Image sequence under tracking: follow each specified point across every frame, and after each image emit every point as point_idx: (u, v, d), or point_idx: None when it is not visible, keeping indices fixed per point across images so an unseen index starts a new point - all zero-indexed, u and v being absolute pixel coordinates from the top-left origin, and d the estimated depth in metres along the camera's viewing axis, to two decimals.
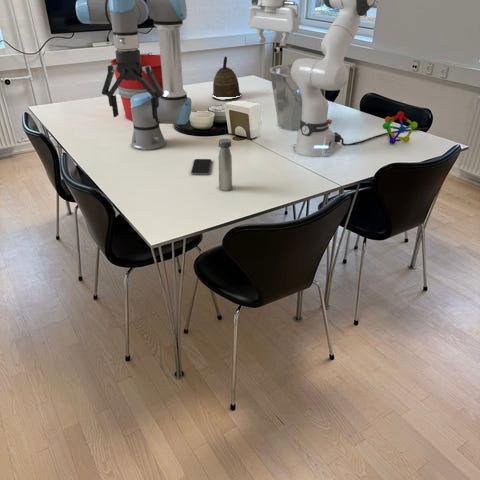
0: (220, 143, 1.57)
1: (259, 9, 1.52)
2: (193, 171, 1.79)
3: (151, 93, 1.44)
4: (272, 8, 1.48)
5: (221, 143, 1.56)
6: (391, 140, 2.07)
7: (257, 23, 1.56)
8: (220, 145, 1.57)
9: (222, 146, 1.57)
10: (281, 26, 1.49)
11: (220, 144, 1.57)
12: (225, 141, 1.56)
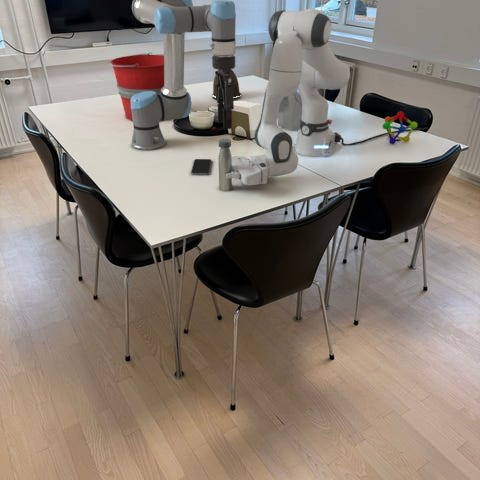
0: (220, 143, 1.57)
1: None
2: (193, 171, 1.79)
3: (224, 104, 1.47)
4: None
5: (221, 143, 1.56)
6: (391, 140, 2.07)
7: None
8: (220, 145, 1.57)
9: (222, 146, 1.57)
10: None
11: (220, 144, 1.57)
12: (225, 141, 1.56)
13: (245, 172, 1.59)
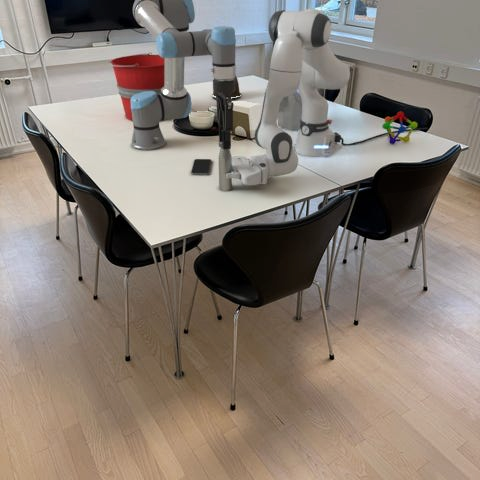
0: (220, 143, 1.57)
1: None
2: (193, 171, 1.79)
3: (223, 125, 1.51)
4: None
5: (221, 143, 1.56)
6: (391, 140, 2.07)
7: None
8: (220, 145, 1.57)
9: (222, 146, 1.57)
10: None
11: (220, 144, 1.57)
12: None
13: (245, 172, 1.59)
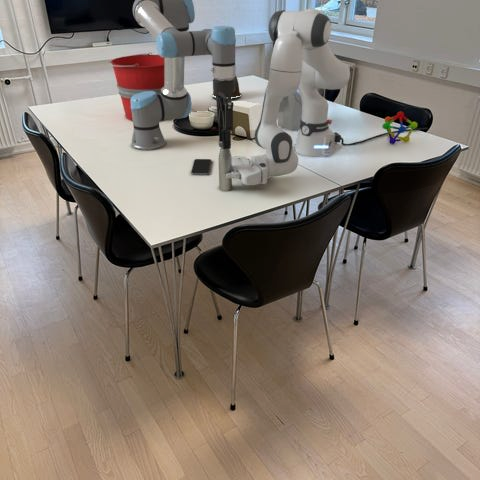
0: None
1: None
2: (193, 171, 1.79)
3: (223, 125, 1.51)
4: None
5: None
6: (391, 140, 2.07)
7: None
8: None
9: None
10: None
11: None
12: None
13: (245, 172, 1.59)
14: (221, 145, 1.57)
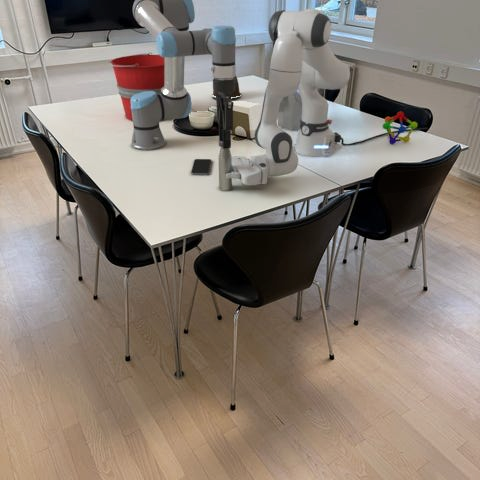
0: None
1: None
2: (193, 171, 1.79)
3: (223, 125, 1.51)
4: None
5: None
6: (391, 140, 2.07)
7: None
8: None
9: None
10: None
11: None
12: (221, 139, 1.57)
13: (245, 172, 1.59)
14: None
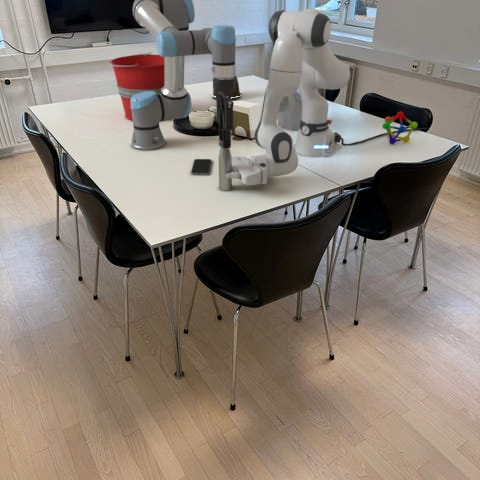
0: (221, 142, 1.56)
1: None
2: (193, 171, 1.79)
3: (223, 124, 1.51)
4: None
5: (222, 142, 1.56)
6: (391, 140, 2.07)
7: None
8: (221, 144, 1.56)
9: None
10: None
11: (221, 143, 1.56)
12: None
13: (245, 172, 1.59)
14: None
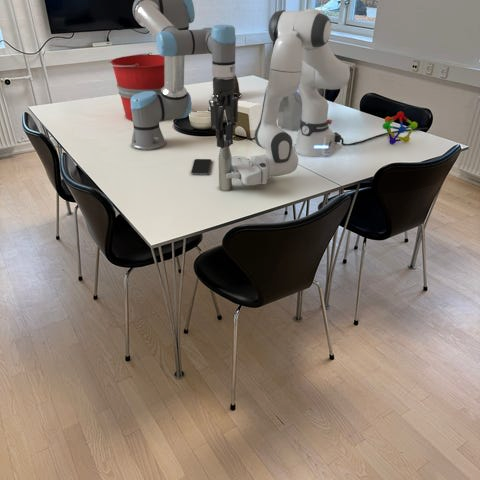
0: (230, 140, 1.57)
1: None
2: (193, 171, 1.79)
3: (232, 120, 1.55)
4: None
5: None
6: (391, 140, 2.07)
7: None
8: (230, 142, 1.58)
9: None
10: None
11: (230, 141, 1.58)
12: (226, 138, 1.58)
13: (245, 172, 1.59)
14: None
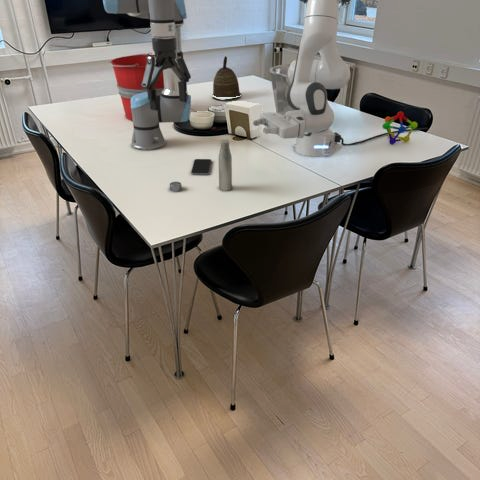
0: None
1: None
2: (193, 171, 1.79)
3: (184, 77, 1.49)
4: None
5: None
6: (391, 140, 2.07)
7: None
8: (181, 187, 1.66)
9: None
10: None
11: None
12: (177, 182, 1.66)
13: (283, 125, 1.56)
14: (172, 189, 1.64)
